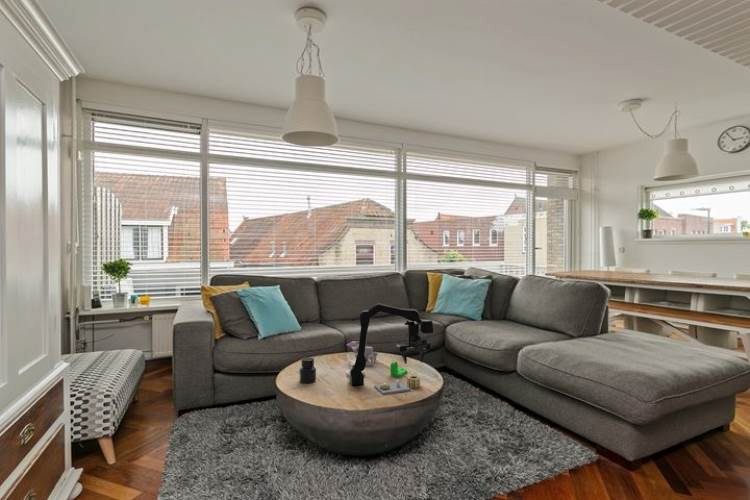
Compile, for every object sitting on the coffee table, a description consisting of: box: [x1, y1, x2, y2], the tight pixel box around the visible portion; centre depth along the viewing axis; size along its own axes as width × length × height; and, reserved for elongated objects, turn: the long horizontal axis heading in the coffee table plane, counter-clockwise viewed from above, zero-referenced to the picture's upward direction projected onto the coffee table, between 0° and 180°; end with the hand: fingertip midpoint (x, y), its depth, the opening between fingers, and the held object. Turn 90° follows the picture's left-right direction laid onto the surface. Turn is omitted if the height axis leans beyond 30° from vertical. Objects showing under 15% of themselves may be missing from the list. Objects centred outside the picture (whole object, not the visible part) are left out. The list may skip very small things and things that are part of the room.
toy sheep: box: [346, 340, 378, 367], centre depth 259 cm, size 20×11×14 cm, turn 70°
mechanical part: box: [390, 360, 408, 378], centre depth 237 cm, size 12×6×8 cm, turn 152°
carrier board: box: [373, 379, 411, 396], centre depth 212 cm, size 15×12×4 cm
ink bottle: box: [298, 356, 317, 384], centre depth 225 cm, size 10×9×12 cm
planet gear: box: [406, 375, 421, 389], centre depth 217 cm, size 6×6×4 cm
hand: (413, 362), depth 217 cm, fingers open, 9 cm apart
